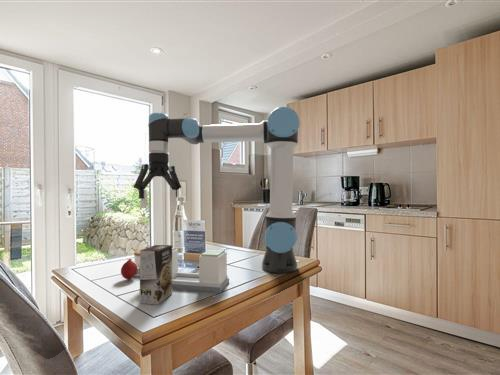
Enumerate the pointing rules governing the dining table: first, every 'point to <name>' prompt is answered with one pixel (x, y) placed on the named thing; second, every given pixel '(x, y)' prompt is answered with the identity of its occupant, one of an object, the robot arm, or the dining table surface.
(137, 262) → the lidded jar
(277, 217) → the robot arm
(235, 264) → the dining table surface
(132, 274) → the onion
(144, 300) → the coffee box
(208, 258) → the white slotted block
